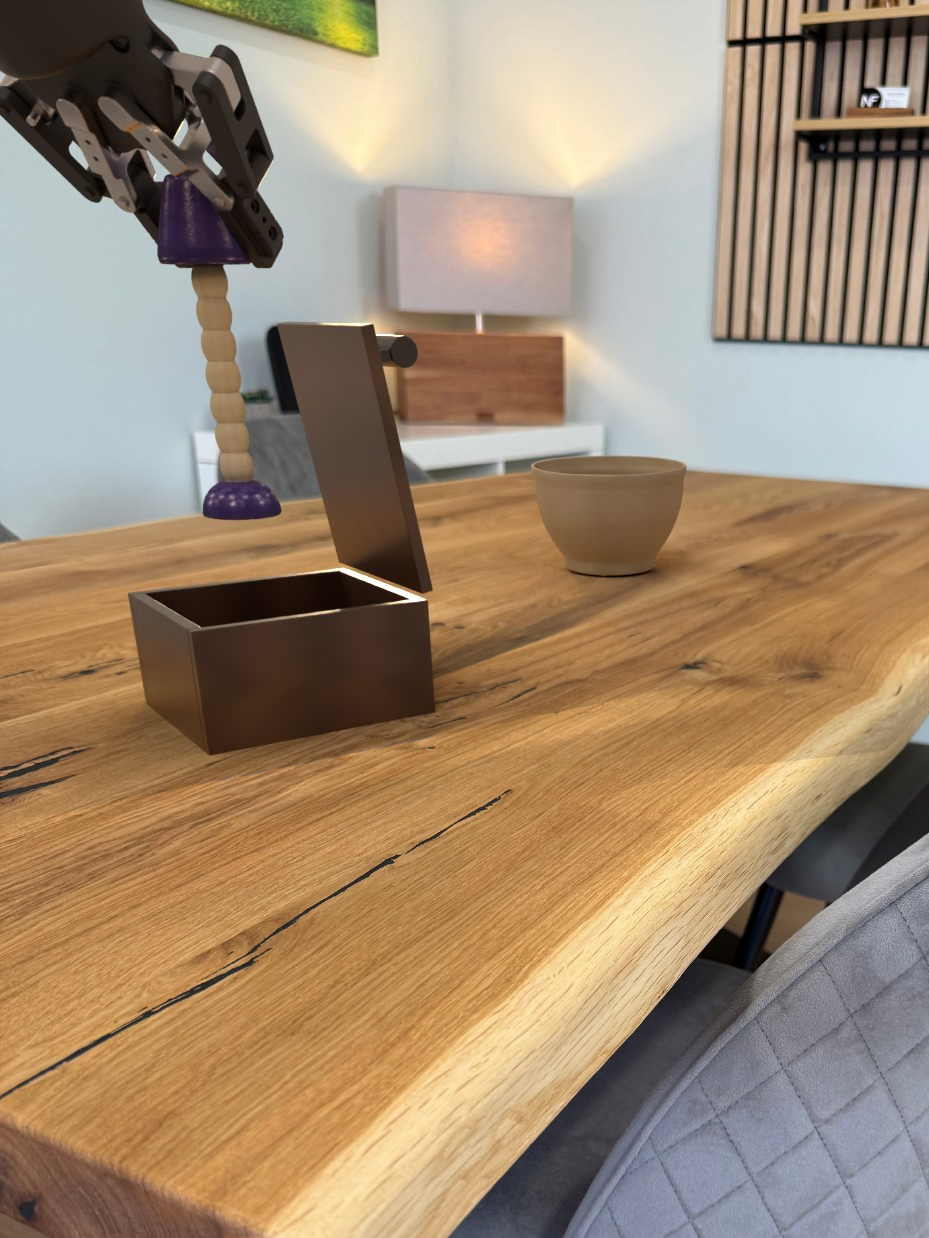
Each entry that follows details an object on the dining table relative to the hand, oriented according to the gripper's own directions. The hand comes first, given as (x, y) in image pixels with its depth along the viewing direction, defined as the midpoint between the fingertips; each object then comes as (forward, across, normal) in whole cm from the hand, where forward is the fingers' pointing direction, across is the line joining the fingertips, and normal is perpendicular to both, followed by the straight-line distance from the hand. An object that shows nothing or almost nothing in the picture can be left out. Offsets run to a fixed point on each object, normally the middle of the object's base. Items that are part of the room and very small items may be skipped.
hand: (231, 255), depth 64 cm
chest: (+22, +2, +17) cm, 28 cm away
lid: (+14, 0, +2) cm, 14 cm away
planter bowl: (+64, +7, -25) cm, 69 cm away
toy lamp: (+8, 0, +11) cm, 13 cm away
